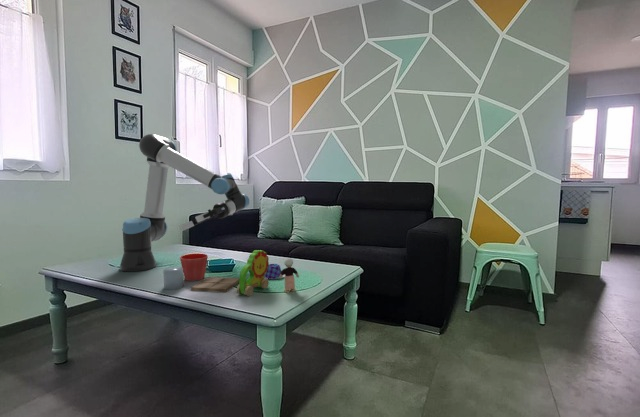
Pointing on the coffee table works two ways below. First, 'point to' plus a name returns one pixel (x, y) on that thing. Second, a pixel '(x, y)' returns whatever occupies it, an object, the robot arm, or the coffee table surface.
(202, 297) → the coffee table surface
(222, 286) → the trivet
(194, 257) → the flower pot
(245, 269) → the toy lion
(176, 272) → the grey rounded cylinder
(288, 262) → the grandmother figurine
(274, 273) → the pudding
